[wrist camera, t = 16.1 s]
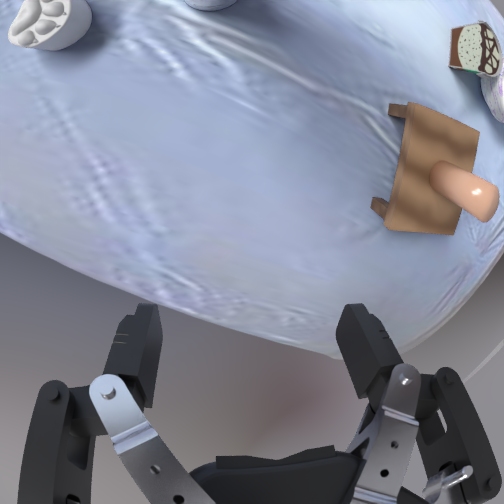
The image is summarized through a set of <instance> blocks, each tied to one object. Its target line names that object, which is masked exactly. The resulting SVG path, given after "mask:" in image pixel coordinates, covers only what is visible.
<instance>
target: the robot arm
mask: <svg viewBox="0 0 504 504" xmlns="http://www.w3.org/2000/svg"><path fill="white" fill-rule="evenodd" d="M184 1H185V2H186V3H187V4H188V5H189V6H191V7H193V8H195V9H198V10H203V11H215V10H220V9H224V8H226V7H229V6H230V5H232V4H234V3H235V2H236V1H237V0H184ZM162 340H163V335H162V327H161V322H160V316H159V311H158V306H157V304H145V303H139V304H138V307H137V310H136V312H135V315H126V317H125V318H124V319H123V320H122V321H121V322H120V323H119V326H118V329H117V331H116V335H115V337H114V341H113V344H112V346H111V350H110V352H109V355H108V359H107V362H106V365H105V368H104V371H103V374H102V375H101V376H99V377H97V378H96V379H95V380H94V381H93V382H92V383H91V385H88V386H84V387H75V388H68V387H67V386H66V385H65V384H64V383H63V382H61V381H58V380H52V381H49V382H47V383H45V384H44V385H43V386H42V387H41V389H40V391H39V394H38V397H37V400H36V404H35V407H34V411H33V415H32V418H31V422H30V426H29V430H28V435H27V440H26V444H25V449H24V454H23V460H22V466H21V473H20V481H19V490H18V502H17V504H91V503H90V502H91V481H92V468H93V457H94V448H95V439H96V436H99V435H108V434H109V436H110V437H111V439H112V441H113V447H114V449H115V451H116V453H117V454H118V456H119V458H120V459H121V461H122V463H123V464H124V466H125V467H126V469H127V470H128V472H129V473H130V475H131V477H132V478H133V479H134V481H135V482H136V484H137V485H138V487H139V488H140V489H141V491H142V492H143V493H144V495H145V496H146V498H147V499H148V500H149V502H150V503H151V504H482V503H484V502H486V501H488V500H490V499H492V498H494V497H495V496H496V495H497V494H498V492H499V491H500V488H501V484H502V479H501V474H500V471H499V468H498V465H497V462H496V459H495V456H494V454H493V451H492V448H491V446H490V443H489V440H488V438H487V435H486V433H485V431H484V428H483V425H482V423H481V421H480V419H479V417H478V414H477V412H476V410H475V407H474V405H473V403H472V401H471V399H470V397H469V395H468V393H467V391H466V389H465V387H464V385H463V383H462V381H461V379H460V377H459V375H458V374H457V372H455V371H454V370H453V369H451V368H449V367H443V368H440V369H439V370H438V371H437V373H436V374H435V375H430V374H420V373H419V371H418V370H417V369H416V368H415V367H413V366H412V365H410V364H405V363H404V362H403V361H402V359H401V357H400V355H399V353H398V351H397V349H396V348H395V346H394V344H393V342H392V340H391V338H389V335H388V333H387V331H385V328H384V326H383V324H382V323H381V321H380V320H379V319H378V318H377V317H375V316H374V315H373V314H369V312H368V311H367V309H366V307H365V306H364V304H362V303H360V304H347V305H345V307H344V310H343V312H342V315H341V318H340V320H339V323H338V326H337V329H336V340H337V343H338V346H339V348H340V351H341V353H342V356H343V359H344V361H345V364H346V366H347V369H348V371H349V374H350V377H351V380H352V382H353V385H354V388H355V390H356V393H357V396H358V398H359V399H362V398H367V397H368V399H369V403H368V404H367V407H366V409H365V412H364V414H363V417H362V419H361V422H360V424H359V427H358V429H357V432H356V434H355V436H354V438H353V440H352V441H351V443H350V444H349V446H348V447H347V449H346V451H345V452H341V451H335V449H334V445H331V446H325V447H320V448H314V449H307V450H305V451H302V452H300V453H297V454H294V455H291V456H289V457H286V458H283V459H280V460H273V459H264V458H258V457H252V456H216V462H212V463H208V464H205V465H202V466H200V467H198V468H196V469H194V470H193V471H191V472H190V473H188V472H187V471H186V470H185V469H184V468H183V466H182V465H181V464H180V463H179V461H178V460H177V459H176V458H175V456H173V454H172V453H171V451H170V450H169V449H168V447H167V446H166V445H165V443H164V442H163V441H162V439H161V438H160V437H159V435H158V434H157V432H156V431H155V430H154V428H153V427H152V426H151V425H150V423H149V422H148V421H147V419H146V418H145V416H144V415H143V411H144V407H146V408H152V404H153V397H154V390H155V383H156V377H157V370H158V364H159V358H160V352H161V347H162ZM439 409H440V410H441V412H442V414H443V417H444V419H445V422H446V424H447V431H446V433H445V430H444V428H443V425H442V423H441V420H440V418H439V416H438V413H437V411H438V410H439ZM415 439H416V441H417V445H418V448H419V451H420V454H421V457H422V460H423V464H424V467H425V471H426V474H427V478H428V481H427V484H426V487H425V488H424V489H423V491H422V495H423V496H424V497H425V500H424V499H423V498H421V497H419V496H418V495H416V494H414V493H412V492H411V491H409V490H408V489H406V488H404V487H403V486H401V485H402V482H403V479H404V476H405V473H406V470H407V467H408V464H409V461H410V458H411V454H412V451H413V447H414V443H415Z"/></svg>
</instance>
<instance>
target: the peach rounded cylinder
mask: <svg viewBox="0 0 504 504" xmlns="http://www.w3.org/2000/svg"><path fill="white" fill-rule="evenodd" d="M430 185H431V187H432V189H433V190H434V191H436V192H437V193H439V194H441V195H442V196H444V197H446V198H447V199H449V200H450V201H452V202H453V203H455V204H457V205H458V206H460V207H461V208H463V209H464V210H466V211H467V212H469V213H470V214H472V215H473V216H474V217H476V218H477V219H479V220H480V221H481V222H487V221H489V220H490V219H491V218H492V217H493V216H494V214H495V212H496V210H497V207H498V204H499V190H498V188H497V187H496V186H495V185H493V184H491V183H490V182H488V181H486V180H484V179H482V178H480V177H478V176H476V175H474V174H472V173H470V172H468V171H466V170H464V169H462V168H460V167H458V166H456V165H454V164H451V163H449V162H447V161H444V160H441V161H438V162H437V163H436V164H435V165H434V166H433V168H432V170H431V173H430Z"/></svg>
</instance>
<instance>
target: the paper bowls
mask: <svg viewBox="0 0 504 504" xmlns="http://www.w3.org/2000/svg"><path fill="white" fill-rule="evenodd" d="M481 89H482V93H483V96H484V99H485V101H486V103H487V104H488V106H489V109H490V111H491V113H492V114H493V116H494V117H495V118H496V119H497V120H498V121H499V122H502V123H504V58H503V66H502V70H501V72H500V74H499V75H498V76H496V77H493V78H487V79H485V78H481Z"/></svg>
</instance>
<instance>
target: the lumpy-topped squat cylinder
mask: <svg viewBox="0 0 504 504" xmlns="http://www.w3.org/2000/svg"><path fill="white" fill-rule="evenodd" d="M91 21H92V12H91V9H90V7H89V5H88V3H87V2H86V1H85V0H25V1H24V2H23V4H22V6H21V8H20V11H19V13H18V15H17V16H16V18H15V20H14V21H13V23H12V25H11V27H10V29H9V32H8V38H9V41H10V42H11V43H12V44H14V45H17V46H20V47H26V48H35V49H42V50H49V51H57V50H60V49H63V48H66V47H68V46H70V45H72V44H74V43H75V42H77V41H78V40H79V39H80V38H82V37H83V36H84V35H85V34H86V32H87V31H88V29H89V27H90V25H91Z"/></svg>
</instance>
